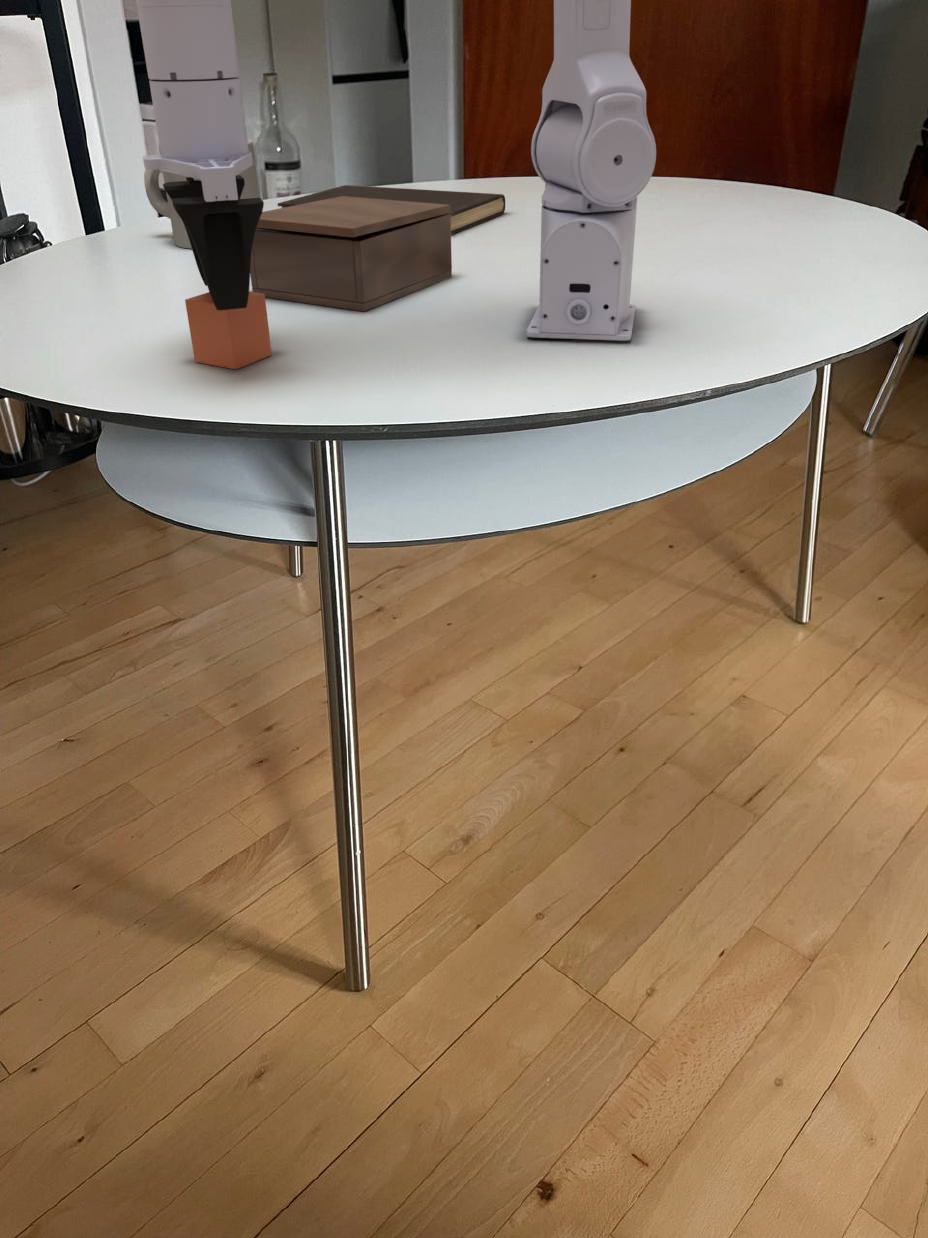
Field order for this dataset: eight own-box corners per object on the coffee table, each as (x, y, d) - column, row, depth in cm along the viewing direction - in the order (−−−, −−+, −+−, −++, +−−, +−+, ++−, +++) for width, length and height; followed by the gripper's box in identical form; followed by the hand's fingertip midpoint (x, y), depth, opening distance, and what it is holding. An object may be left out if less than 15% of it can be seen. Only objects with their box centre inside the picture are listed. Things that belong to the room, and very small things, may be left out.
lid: (353, 237, 80) (353, 228, 80) (237, 225, 86) (236, 216, 85) (450, 212, 91) (450, 204, 91) (342, 203, 97) (342, 195, 96)
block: (272, 355, 74) (265, 293, 71) (235, 369, 71) (227, 305, 68) (231, 347, 75) (223, 287, 73) (194, 361, 72) (184, 299, 70)
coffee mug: (282, 236, 113) (272, 139, 108) (221, 252, 106) (206, 149, 101) (197, 226, 119) (183, 134, 114) (134, 241, 112) (116, 143, 107)
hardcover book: (448, 236, 112) (448, 214, 110) (279, 223, 120) (277, 202, 119) (505, 213, 124) (505, 193, 123) (348, 202, 132) (347, 184, 131)
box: (364, 311, 84) (359, 240, 81) (252, 295, 89) (244, 228, 86) (452, 276, 94) (450, 213, 91) (347, 264, 100) (342, 203, 97)
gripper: (125, 75, 68) (160, 278, 75) (135, 87, 57) (175, 326, 64) (228, 72, 70) (253, 270, 77) (259, 82, 58) (284, 315, 66)
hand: (224, 295), depth 71 cm, fingers open, 7 cm apart
